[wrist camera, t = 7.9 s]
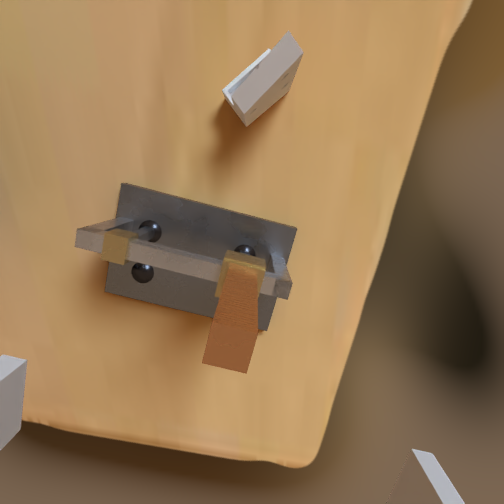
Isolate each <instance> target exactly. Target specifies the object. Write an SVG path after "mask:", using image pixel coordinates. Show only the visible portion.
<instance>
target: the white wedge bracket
mask: <svg viewBox="0 0 504 504" xmlns="http://www.w3.org/2000/svg"><path fill="white" fill-rule="evenodd" d="M302 55H303V51H302V50H301V48H300V47H299V45H298V44H297V42H296V41H295V39H294V38H293V36H292V35H291V33H290V32H289V31H288V32H287V33H286V34H285V35H284V36H283V38H282V39H281V40H280V41H279V42H278V43H277V44H276V46H275V47H274V48H273V49H272V50H270V49H268V50H267V51H266V52H264V53H263V54H262V55H261V56H260V57H259V58H258V59H257V60H255V61H254V62H253V63H252V64H251V65H250V66H249V67H247V68H246V69H245V70H244V71H243V72H242V73H241V74H240V75H238V76H237V77H236V78H235V79H234V80H233V81H232V82H231V83H229V84H228V85H227V86H226V87H225V88H224V89H223V90H222V91H223V94H224V97H225V99H226V100H227V102H228V103H229V104H230V106H231V107H232V108H233V110H234V111H235V112H236V114H237V115H238V116H239V118H240V119H241V120H242V122H243V123H244V124H245V126H246V127H247V126H248V125H250V124H251V123H252V122H253V121H254V120H256V119H257V118H258V117H259V116H260V115H261V114H263V113H264V112H265V111H266V110H267V109H269V108H270V107H271V106H272V105H273V104H274V103H276V102H277V101H278V100H279V99H280V98H282V97H283V96H284V95H285V94H286V93H287V92H289V90H290V87H291V85H292V82H293V79H294V77H295V74H296V71H297V69H298V66H299V63H300V61H301V58H302Z"/></svg>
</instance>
